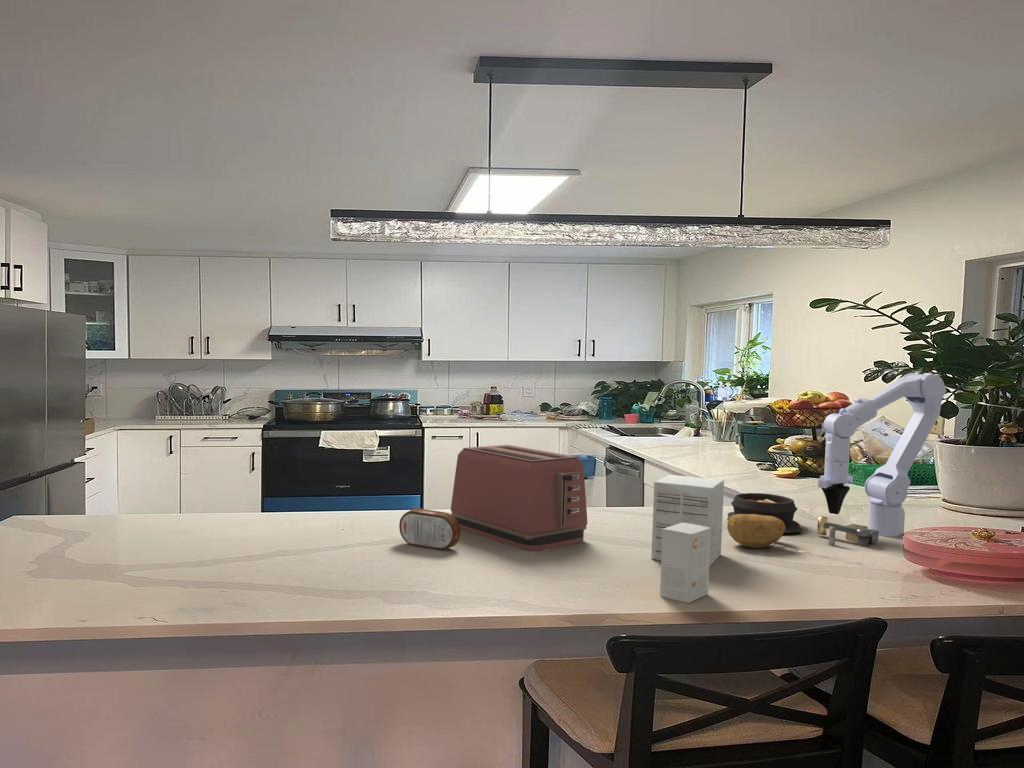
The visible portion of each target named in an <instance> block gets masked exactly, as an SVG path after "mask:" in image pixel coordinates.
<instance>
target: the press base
mask: <svg viewBox="0 0 1024 768" xmlns="http://www.w3.org/2000/svg"><path fill="white" fill-rule="evenodd" d="M828 530H829V531H828V546H830V547H831V546H832V547H835V546H836V531H837V530H836V527H834V526H830V527H829V529H828ZM843 541H846V542H851V543H855V544H856V543H857V546H859V547H866V548H868V547H869V545H870V543H869V537H861V536H858V542H853V541H848V540H846V538H844V539H843Z"/></svg>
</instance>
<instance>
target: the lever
mask: <svg viewBox="0 0 1024 768" xmlns="http://www.w3.org/2000/svg"><path fill="white" fill-rule="evenodd" d="M830 526H834V527H836V531H838V532H842V533H846V532H847V533H852V534H856V535H857V536H861V537H869V544H875V543H877V542H879V531H878V530H872V529H868V528H867V529H866V528H854V527H849V526H847V525H843V524H838V523H833V522H828V516H824V515H819V516H818V517H817V532H816V534H817V535H819V536H827V533H828V530H829V527H830Z"/></svg>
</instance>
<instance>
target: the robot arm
mask: <svg viewBox="0 0 1024 768" xmlns="http://www.w3.org/2000/svg"><path fill="white" fill-rule="evenodd" d="M946 393H947V388H946V385H945V383H944V380H943V378H942V377H941V376H940V375H938V374H935V373H934V374H933V373H932V374H931V373H930V374H923V373H922V374H921V373H914V372H913V373H912V372H910V373H906V374H905V375H903V376H901V377H899V378H897V379H896V380H895V382H893V383H892V384H890V385H889V386H887V387H886V388H884V389H883V390H882V391H880V392H879V393H876V395H874V396H872V397H871V398H869V399H868V398H866V397H861V398H860V397H859V398H858V397H857V398H856V399H854V400H853V401H854V403H852V404H850V405H848V406H847V407H845V408H843V407H842V408H840V409H839V412H838V413H831V414H829V415H827V416H826V417H825V419H824V421H823V423H821V429H822V430H823V432H824V434H825V452H824V453H825V454H824V469H823V471H824V473H823V475H820V476H819V479H818V481H817V484H818V485H817V486H818V488H821V490H822V492H823V494H824V497H825V500H826V504H827V510H828V513H829V514H833V515H840V512H841V508H842V507H843V504H844V499H845V498H846V496H847V494H848V493H849V491H850V489H851V488H850V486H848V485H849V484H851V485H852V484H853V481H854V480H853V479H854V476H852V475H849V469H850V468H849V467H850V450H851V437H852V436H853V435H855V433H856V431H857V429H858V428H860V427H861V426H864V425H865V424H866V423H868V422H870V421H871V420H873V419H874V418H876V417H877V416H878V411H879V410H881V409H883V408H885V407H886V406H889V405H890V404H893V403H895V402H897V401H898V400H900V399H903V398H905V399H906V401H907V402H908V403H909V405H910V406H911V407H912V410H913V415H912V416H911V417H910V420H909V421H908V423H907V425H906V427H905V429H904V431H903V433H902V434H901V436H900V438H899V439H898V441H897V443H896V445H895V446H894V449H893V450H892V452H891V454H890V456H889V458H888V459H887V461H886V463H885V464H884V465H882V466H880V467H878V468H876V470H875V471H874V473H873V474H872V475H871V476H869V477H868V478H867V479H866V481H865V483H864V492H865V494H866V495H867V497H868V501H869V511H868V526H867V527H868V528H867V529H872V530H878V531H879V536H880V537H887V538H888V537H889V538H891V537H892V538H893V537H894V538H895V537H899V536H900V535H902V534H905V533H904V532H905V521H906V520H905V519H906V518H905V517H906V513H905V509H904V507H903V503H904V502H905V501H906V499H907V497H908V491H909V487H910V485H911V482H912V481H911V480H910V477H909V475H908V473H909V471H910V469H911V467H912V466H913V464H914V462H915V460H916V459H917V457H918V455H919V453H920V451H921V450H922V447H923V446H924V444H925V442H926V440H927V438H928V436H929V435H930V433H931V431H932V430H933V428H934V426H935V424H936V422H937V420H938V419H939V417H940V414H941V406H942V400H943V398H944V396H945V394H946ZM846 484H848V485H846Z"/></svg>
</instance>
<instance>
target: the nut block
mask: <svg viewBox="0 0 1024 768" xmlns="http://www.w3.org/2000/svg"><path fill="white" fill-rule="evenodd" d="M846 526H849V527H854V528H866V529H868V527H869V526H866V525H860V524H856V523H851V524H848V525H847V524H846ZM845 539H846V540H848V541H847V542H850V541H853V542H852V543H855V542H858V536H857V535H856V534H852V533H847V532H845Z"/></svg>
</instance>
